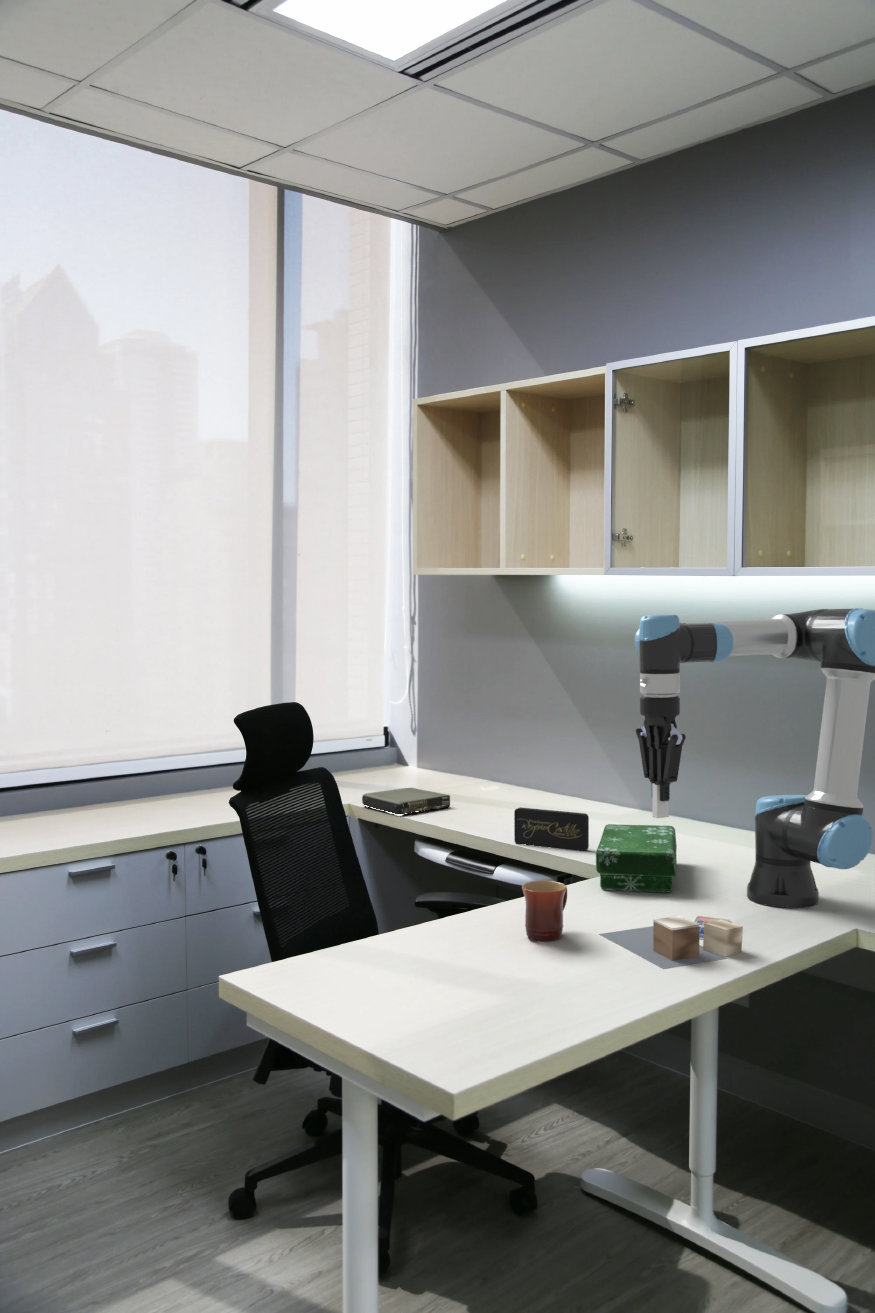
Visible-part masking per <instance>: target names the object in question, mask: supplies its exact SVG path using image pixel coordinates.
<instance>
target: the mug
mask: <svg viewBox="0 0 875 1313" xmlns="http://www.w3.org/2000/svg"><path fill="white" fill-rule="evenodd" d="M521 889H522V893H523V896H524V901H525V915H524V916H525V918H524V923H525V924H524V927H525V934H526V936H527V937H528V938H529V939H530V940H532V941H535V942H554V941H557V940H559V939H561V937H562V936H563V930H564V910H565V908H566V906H567V901H568V888H567V885H566V884H565V883H562V882H558V881H553V880H552V881H551V880H534V881H533V880H532V881H528V882H525V883H523V884H522V885H521Z"/></svg>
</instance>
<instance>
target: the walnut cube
mask: <svg viewBox="0 0 875 1313" xmlns="http://www.w3.org/2000/svg"><path fill="white" fill-rule="evenodd" d="M693 921H694V920H690V919H688V918H686V917H684V916H682V915H676V916H675V915H674V916H668V917H661V918H654V919H653V921H652V923H653V925H652V926H653V951H654V952H656V953H658V954H660V955H662V956H664V957H666V958H668V959H670V960H672V961H673V960H680V959H686V958H692V957H698V956H699V945H700V940H699V924H698V923H695V922H693Z"/></svg>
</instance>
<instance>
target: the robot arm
mask: <svg viewBox="0 0 875 1313" xmlns="http://www.w3.org/2000/svg"><path fill="white" fill-rule="evenodd" d="M634 646H635V649H636V651H637V653H638V654H639V692H640V694H641V695H642V696H640V698H639V714H640V715H641V716H642V717H644V720H643V726H641V727H640V728H639V727H638V728H636V729H635V734H636V736H637V740H638V744H639V750H640V758H641V764H642V771H643V777H644V778H645V779H648V780H649V783H650V784H651V798H652V800H651V801H652V803H651V804H652V818H653V819H654V818H655V819H663V818H669V816H670V808H669V806H670V796H671V794H670V793H671V792H670V791H671V790H670V786H671V784H672V783H676V782H677V781H678V777H679V772H680V771H679V770H680V765H681V764H680V763H681V756H682V750H683V745H684V744H685V743H684V742H685V740H686V738H687V737H686V735H685V733H680V732H679V731H678V726H677V722H676V717H678V716H679V715H680V713H681V698H680V697H679V696H678V695H679V693H681V678H680V675H681V674H680V670H681V669H680V667H681V664H685V663H687V664H688V663H715V662H720V661H721V662H723V661H725V660H726V659H728V658H729V657H737V656H738V657H739V656H740V657H741V656H759V655H761V656H762V655H772V656H773V657H774V658H777V659H798V660H803V661H804V660H805V661H811V662H816V663H820V668H819V669H820V672H822V673H823V675H824V676H825V677H826V682H825V683H826V684H825V692H824V700H823V709H822V715H821V716H822V718H821V726H820V732H819V733H820V734H819V741H818V742H819V743H818V749H817V759H816V768H815V775H814V785H813V789H812V791H811V792H810V793H808V794H807V795H805V794H780V795H778V794H777V795H767V796H766V795H765V796H762V797H760V798H759V799H757V801H756V804H755V805H756V806H755V813H754V825H755V826H754V827H755V832H754V833H755V835H754V838H755V839H754V840H755V849H754V850H755V857H754V858H755V861H754V866H753V869H752V872H751V875H750V878H749V882H748V884H747V886H746V897H747V898H748V899H749V900H750V901H753V902H754V903H757V904H760V905H764V906H769V907H776V908H793V909H794V908H807V907H812V906H815V905H818V903H819V894H820V892H819V889H818V886H817V884H816V879H815V876H814V873H813V870H812V866H811V863H812V862H813V863H816V864H820V865H822V866H824V867H826V868H833V869H838V870H849V869H851V868H854V867H856V866H858V865H859V864H860V863H861V862H862V861H864V860H865V858H866V857H867V856H868V854H869V852H870V850H871V848H872V845H873V838H874V833H873V828H872V827H871V826H870V825H871V823H870V822H869V820H868V819H867V818H865V817H864V816H863V815H864V814H863V813H864V804H863V803H862V802H861V800H859V799H858V790H859V789H858V788H859V781H860V772H861V764H862V756H863V747H864V739H865V731H866V722H867V714H868V705H869V699H870V691H871V690H870V688H871V684H872V682H874V680H875V610H874V609H868V608H861V607H860V608H858V607H857V608H856V607H855V608H833V609H832V608H819V609H813V610H812V609H811V610H807V611H806V610H805V611H800V612H793V613H786V614H785V613H784V614H783V613H782V614H776V615H774V616H772V617H771V618H770V619H748V620H746V619H745V620H743V619H742V620H739V619H738V620H717V621H715V620H713V621H712V620H711V621H689V622H688V621H686V622H684V621H683V622H680V617H679V616H678V615H677V614H647V615H643V616H642V617H641V618H640V620H639V628H638V630H636V633H635V636H634ZM677 694H678V695H677Z"/></svg>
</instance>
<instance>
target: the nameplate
mask: <svg viewBox="0 0 875 1313" xmlns="http://www.w3.org/2000/svg"><path fill="white" fill-rule="evenodd" d="M513 812H514V822H513V824H514V825H513V826H514V827H513V828H514V832H513V833H514V836H513V837H514V843H515V844H516V845H521V844H526V845H525V846H530V845H534V847H539V846H541V847H540V848H548V847H551V848H550V849H557V848H558V849H557V850H559V849H560V850H567V851H576V852H577V851H578V852H585V851H587V850H588V849H589V846H590V842H589V838H590V837H589V834H590V833H589V829H590V827H589V825H590V824H589V820H590V819H589V814H587V813H585V812H575V811H574V812H573V811H564V810H563V811H562V810H554V809H541V808H531V807H517V808H515V809H514V811H513Z"/></svg>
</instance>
